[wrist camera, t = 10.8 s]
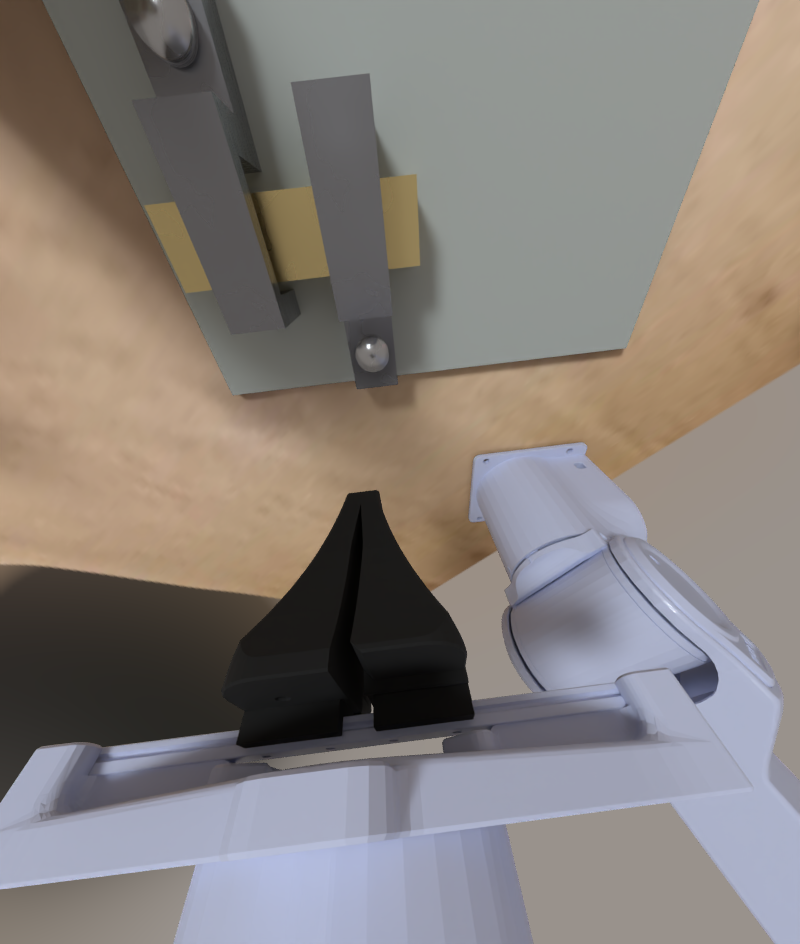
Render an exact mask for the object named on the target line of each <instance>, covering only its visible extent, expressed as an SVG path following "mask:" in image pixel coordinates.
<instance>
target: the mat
mask: <svg viewBox="0 0 800 944" xmlns="http://www.w3.org/2000/svg"><path fill="white" fill-rule="evenodd" d="M42 1H43V3H44V5H45V7H46V9H47V11H48V13H49V16H50V18H51V20H52V22H53V24H54V26H55V28H56V30H57V32H58V34H59V36H60V38H61V40H62V43H63V45H64V47H65V49H66V51H67V53H68V55H69V57H70V59H71V61H72V63H73V65H74V67H75V69H76V72H77V74H78V76H79V78H80V80H81V82H82V84H83V86H84V88H85V90H86V92H87V94H88V96H89V98H90V101H91V103H92V105H93V107H94V109H95V111H96V113H97V115H98V117H99V119H100V121H101V123H102V125H103V128H104V130H105V132H106V134H107V136H108V138H109V140H110V142H111V144H112V146H113V148H114V150H115V152H116V154H117V157H118V159H119V161H120V163H121V165H122V167H123V169H124V171H125V173H126V175H127V177H128V179H129V181H130V184H131V186H132V188H133V190H134V192H135V194H136V196H137V198H138V200H139V202H140V204H141V206H142V208H143V210H144V213H145V215H146V217H147V219H148V221H149V223H150V225H151V227H152V229H153V231H154V233H155V235H156V237H157V239H158V242H159V244H160V246H161V248H162V250H163V252H164V254H165V256H166V258H167V260H168V262H169V264H170V266H171V269H172V271H173V273H174V275H175V277H176V279H177V281H178V283H179V285H180V287H181V289H182V291H183V293H184V295H185V298H186V300H187V302H188V304H189V306H190V308H191V310H192V312H193V314H194V316H195V318H196V320H197V322H198V325H199V327H200V329H201V331H202V333H203V335H204V337H205V339H206V341H207V343H208V345H209V347H210V349H211V351H212V354H213V356H214V358H215V360H216V362H217V364H218V366H219V368H220V370H221V372H222V374H223V376H224V378H225V381H226V383H227V385H228V387H229V389H230V391H231V393H232V395H239V394H248V393H256V392H264V391H273V390H281V389H289V388H298V387H306V386H314V385H323V384H331V383H340V382H348V381H355V377H354V372H353V367H352V362H351V357H350V351H349V346H348V341H347V336H346V331H345V326H344V322H339V319H338V314H337V309H336V304H335V299H334V294H333V289H332V284H331V280H330V276H328V277H319V278H311V279H302V280H294V281H285V282H277V284H278V287H279V291H283V290H292V289H294V291H295V294H296V298H297V302H298V305H299V309H300V313H301V315H300V316H299V317H297V318H296V319H295V320H294V321H293V322H292V323H291V324H290V325H289V326H288V327H286V328H285V329H277V330H268V331H260V332H251V333H243V334H235V335H231V333H230V330H229V328H228V326H227V323H226V321H225V319H224V316H223V314H222V312H221V309H220V307H219V305H218V302H217V300H216V298H215V295H214V293H213V290H208V291H200V292H191V293H185V290H184V288H183V286H182V284H181V282H180V280H179V278H178V276H177V274H176V272H175V270H174V267H173V265H172V263H171V261H170V259H169V257H168V255H167V253H166V251H165V249H164V246H163V244H162V242H161V240H160V238H159V236H158V234H157V232H156V230H155V228H154V226H153V223H152V221H151V219H150V217H149V215H148V213H147V211H146V209H145V207H144V205H151V204H160V203H169V202H175V201H174V199H173V197H172V194H171V192H170V189H169V187H168V185H167V182H166V180H165V178H164V175H163V173H162V171H161V168H160V166H159V164H158V161H157V159H156V157H155V154H154V152H153V150H152V147H151V145H150V143H149V140H148V138H147V135H146V133H145V131H144V128H143V126H142V124H141V121H140V119H139V117H138V114H137V112H136V110H135V107H134V105H133V103H132V100H137V99H146V98H155V97H156V95H155V92H154V90H153V87H152V85H151V82H150V79H149V77H148V74H147V72H146V69H145V67H144V64H143V62H142V59H141V56H140V54H139V51H138V49H137V46H136V44H135V41H134V38H133V36H132V33H131V31H130V28H129V26H128V23H127V20H126V18H125V15H124V13H123V10H122V8H121V5H120V3H119V0H42ZM215 2H216V6H217V9H218V13H219V17H220V20H221V24H222V28H223V31H224V35H225V39H226V42H227V46H228V50H229V53H230V57H231V61H232V64H233V68H234V72H235V75H236V79H237V83H238V86H239V90H240V93H241V97H242V101H243V104H244V108H245V112H246V115H247V119H248V123H249V126H250V130H251V134H252V137H253V141H254V145H255V148H256V152H257V156H258V159H259V163H260V167H261V170H262V172H256V173H248V174H245V178H246V181H247V184H248V188H249V191H250V193H256V192H264V191H273V190H282V189H290V188H299V187H308V186H311V181H310V176H309V171H308V166H307V161H306V156H305V151H304V146H303V141H302V136H301V131H300V126H299V122H298V117H297V112H296V107H295V102H294V97H293V92H292V87H291V82H296V81H305V80H314V79H323V78H331V77H340V76H349V75H358V74H367V73H370V82H371V93H372V103H373V114H374V124H375V135H376V145H377V156H378V166H379V177H380V178H386V177H395V176H403V175H412V174H417V196H418V222H419V248H420V266H413V267H405V268H396V269H388V271H389V281H390V292H391V302H392V313H393V316H391V318H392V328H393V339H394V349H395V359H396V369H397V376H398V375H406V374H415V373H423V372H431V371H440V370H448V369H456V368H465V367H473V366H481V365H490V364H498V363H506V362H515V361H523V360H531V359H540V358H548V357H556V356H565V355H573V354H581V353H590V352H598V351H606V350H615V349H623V348H626V347H627V344H628V342H629V339H630V337H631V334H632V331H633V329H634V326H635V323H636V321H637V318H638V316H639V313H640V310H641V308H642V305H643V303H644V300H645V297H646V295H647V292H648V290H649V287H650V284H651V282H652V279H653V276H654V274H655V271H656V269H657V266H658V263H659V261H660V258H661V256H662V253H663V250H664V248H665V245H666V243H667V240H668V237H669V235H670V232H671V229H672V227H673V224H674V222H675V219H676V216H677V214H678V211H679V209H680V206H681V203H682V201H683V198H684V196H685V193H686V190H687V188H688V185H689V183H690V180H691V177H692V175H693V172H694V169H695V167H696V164H697V162H698V159H699V156H700V154H701V151H702V149H703V146H704V143H705V141H706V138H707V136H708V133H709V130H710V128H711V125H712V122H713V120H714V117H715V115H716V112H717V109H718V107H719V104H720V102H721V99H722V96H723V94H724V91H725V89H726V86H727V83H728V81H729V78H730V75H731V73H732V70H733V68H734V65H735V62H736V60H737V57H738V55H739V52H740V49H741V47H742V44H743V42H744V39H745V36H746V34H747V31H748V29H749V26H750V23H751V21H752V18H753V15H754V13H755V10H756V8H757V5H758V2H759V0H215Z"/></svg>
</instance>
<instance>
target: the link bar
mask: <svg viewBox="0 0 800 944" xmlns="http://www.w3.org/2000/svg"><path fill="white" fill-rule="evenodd" d="M380 187H381V197H382V208H383V218H384V229H385V239H386V250H387V260H388V269H396V268H405V267H413V266H420V248H419V222H418V196H417V174H412V175H403V176H395V177H386V178H380ZM250 194H251V198H252V201H253V204H254V208H255V211H256V214H257V218H258V221H259V224H260V228H261V231H262V234H263V237H264V241H265V244H266V247H267V251H268V254H269V257H270V261H271V264H272V267H273V271H274V274H275V277H276V281H277V282H285V281H294V280H302V279H311V278H319V277H328V276H330V275H329V270H328V265H327V260H326V255H325V250H324V245H323V240H322V235H321V230H320V225H319V220H318V215H317V210H316V205H315V201H314V196H313V191H312V186H308V187H299V188H290V189H282V190H273V191H264V192H256V193H250ZM144 207H145V209H146V211H147V213H148V215H149V217H150V219H151V221H152V223H153V226H154V228H155V230H156V232H157V234H158V236H159V238H160V240H161V242H162V244H163V246H164V249H165V251H166V253H167V255H168V257H169V259H170V261H171V263H172V265H173V267H174V270H175V272H176V274H177V276H178V278H179V280H180V282H181V284H182V286H183V288H184V290H185V293H191V292H200V291H208V290H212V288H211V286H210V283H209V281H208V279H207V276H206V274H205V272H204V269H203V267H202V265H201V262H200V260H199V258H198V255H197V253H196V251H195V248H194V246H193V244H192V241H191V239H190V236H189V234H188V232H187V229H186V227H185V225H184V222H183V220H182V218H181V215H180V213H179V211H178V208H177V206H176V204H175V202H169V203H160V204H151V205H144Z"/></svg>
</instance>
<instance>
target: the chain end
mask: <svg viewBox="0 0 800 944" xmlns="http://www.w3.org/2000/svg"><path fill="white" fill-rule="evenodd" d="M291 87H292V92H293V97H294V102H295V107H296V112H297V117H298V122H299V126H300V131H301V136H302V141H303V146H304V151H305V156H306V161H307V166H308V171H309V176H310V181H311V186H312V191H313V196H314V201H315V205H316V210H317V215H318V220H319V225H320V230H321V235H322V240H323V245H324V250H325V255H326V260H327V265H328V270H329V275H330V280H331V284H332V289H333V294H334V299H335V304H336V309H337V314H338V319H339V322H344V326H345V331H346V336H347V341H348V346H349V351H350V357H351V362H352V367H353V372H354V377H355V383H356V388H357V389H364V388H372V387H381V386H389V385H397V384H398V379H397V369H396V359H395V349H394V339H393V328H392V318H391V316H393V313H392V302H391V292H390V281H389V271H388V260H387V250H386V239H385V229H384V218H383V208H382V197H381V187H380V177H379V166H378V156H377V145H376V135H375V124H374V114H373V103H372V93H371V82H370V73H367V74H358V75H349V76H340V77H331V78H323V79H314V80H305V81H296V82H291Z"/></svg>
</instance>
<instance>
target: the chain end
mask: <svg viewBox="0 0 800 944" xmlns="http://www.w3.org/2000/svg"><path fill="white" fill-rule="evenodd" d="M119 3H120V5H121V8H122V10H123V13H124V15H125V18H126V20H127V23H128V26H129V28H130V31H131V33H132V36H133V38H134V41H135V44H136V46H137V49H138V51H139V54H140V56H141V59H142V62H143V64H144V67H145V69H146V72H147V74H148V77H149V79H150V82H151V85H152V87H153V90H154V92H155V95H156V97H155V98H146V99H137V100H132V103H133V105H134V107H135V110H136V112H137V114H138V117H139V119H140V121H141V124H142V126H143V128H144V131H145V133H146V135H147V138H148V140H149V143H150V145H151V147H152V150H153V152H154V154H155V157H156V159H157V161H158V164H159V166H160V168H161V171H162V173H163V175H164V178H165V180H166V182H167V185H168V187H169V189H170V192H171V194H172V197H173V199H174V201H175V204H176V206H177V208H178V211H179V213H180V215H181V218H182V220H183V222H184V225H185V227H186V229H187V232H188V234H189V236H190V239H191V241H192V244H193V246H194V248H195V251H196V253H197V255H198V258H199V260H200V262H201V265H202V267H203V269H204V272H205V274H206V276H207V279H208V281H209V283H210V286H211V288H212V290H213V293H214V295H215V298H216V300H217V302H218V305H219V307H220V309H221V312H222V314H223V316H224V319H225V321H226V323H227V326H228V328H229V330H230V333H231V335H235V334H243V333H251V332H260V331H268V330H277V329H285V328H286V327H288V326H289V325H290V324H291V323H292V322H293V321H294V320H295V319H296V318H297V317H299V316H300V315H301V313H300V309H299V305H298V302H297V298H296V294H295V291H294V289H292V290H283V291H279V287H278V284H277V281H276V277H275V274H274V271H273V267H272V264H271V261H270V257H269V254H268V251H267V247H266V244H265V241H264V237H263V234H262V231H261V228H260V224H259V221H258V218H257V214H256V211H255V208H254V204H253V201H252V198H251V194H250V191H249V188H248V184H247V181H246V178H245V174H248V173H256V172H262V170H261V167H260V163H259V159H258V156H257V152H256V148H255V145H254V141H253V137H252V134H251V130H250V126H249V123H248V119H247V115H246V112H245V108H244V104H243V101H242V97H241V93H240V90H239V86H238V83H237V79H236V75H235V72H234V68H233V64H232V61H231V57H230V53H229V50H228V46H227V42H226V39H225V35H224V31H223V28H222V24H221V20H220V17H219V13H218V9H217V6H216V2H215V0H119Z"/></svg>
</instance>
